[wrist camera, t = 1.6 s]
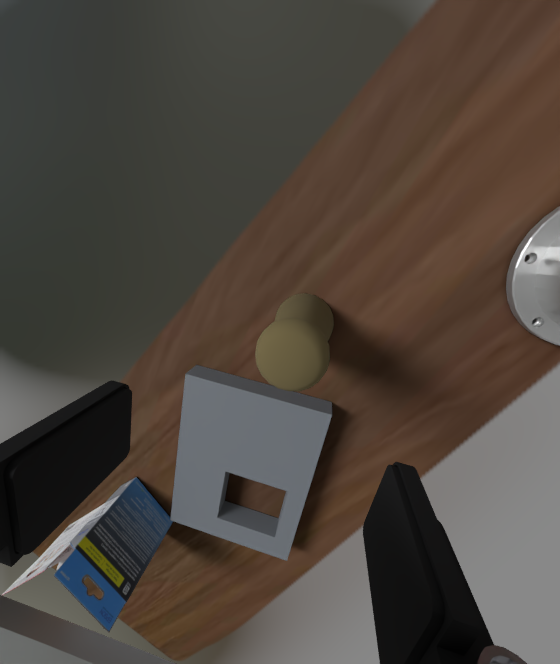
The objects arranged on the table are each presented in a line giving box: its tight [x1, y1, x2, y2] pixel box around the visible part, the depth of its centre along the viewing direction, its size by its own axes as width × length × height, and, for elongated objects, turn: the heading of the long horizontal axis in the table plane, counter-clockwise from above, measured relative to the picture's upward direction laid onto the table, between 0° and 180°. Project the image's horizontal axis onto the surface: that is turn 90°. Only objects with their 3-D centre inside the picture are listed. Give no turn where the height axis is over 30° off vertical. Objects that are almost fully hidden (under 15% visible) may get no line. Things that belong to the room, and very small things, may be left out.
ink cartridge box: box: [2, 504, 104, 595], centre depth 38 cm, size 2×11×10 cm, turn 128°
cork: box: [255, 293, 334, 391], centre depth 22 cm, size 6×6×11 cm
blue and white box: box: [54, 477, 173, 633], centre depth 33 cm, size 9×4×12 cm, turn 34°
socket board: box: [170, 365, 332, 561], centre depth 32 cm, size 16×22×2 cm
